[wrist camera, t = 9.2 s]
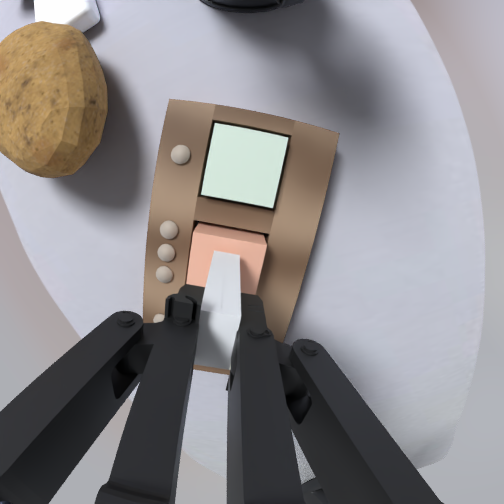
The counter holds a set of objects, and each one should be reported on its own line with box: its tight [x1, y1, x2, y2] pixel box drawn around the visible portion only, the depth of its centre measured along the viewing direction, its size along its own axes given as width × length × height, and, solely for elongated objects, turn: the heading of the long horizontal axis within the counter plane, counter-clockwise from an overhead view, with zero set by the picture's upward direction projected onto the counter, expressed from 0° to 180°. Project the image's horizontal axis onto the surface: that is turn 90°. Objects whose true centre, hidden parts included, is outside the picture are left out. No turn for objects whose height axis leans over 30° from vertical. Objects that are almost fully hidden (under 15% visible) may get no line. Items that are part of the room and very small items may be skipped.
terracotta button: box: [186, 221, 267, 295], centre depth 18 cm, size 4×4×3 cm
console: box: [143, 99, 339, 375], centre depth 20 cm, size 20×11×3 cm, turn 168°
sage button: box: [201, 123, 288, 208], centre depth 17 cm, size 4×4×3 cm
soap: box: [34, 0, 100, 33], centre depth 12 cm, size 9×6×3 cm, turn 22°
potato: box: [0, 21, 108, 178], centre depth 12 cm, size 10×14×8 cm
